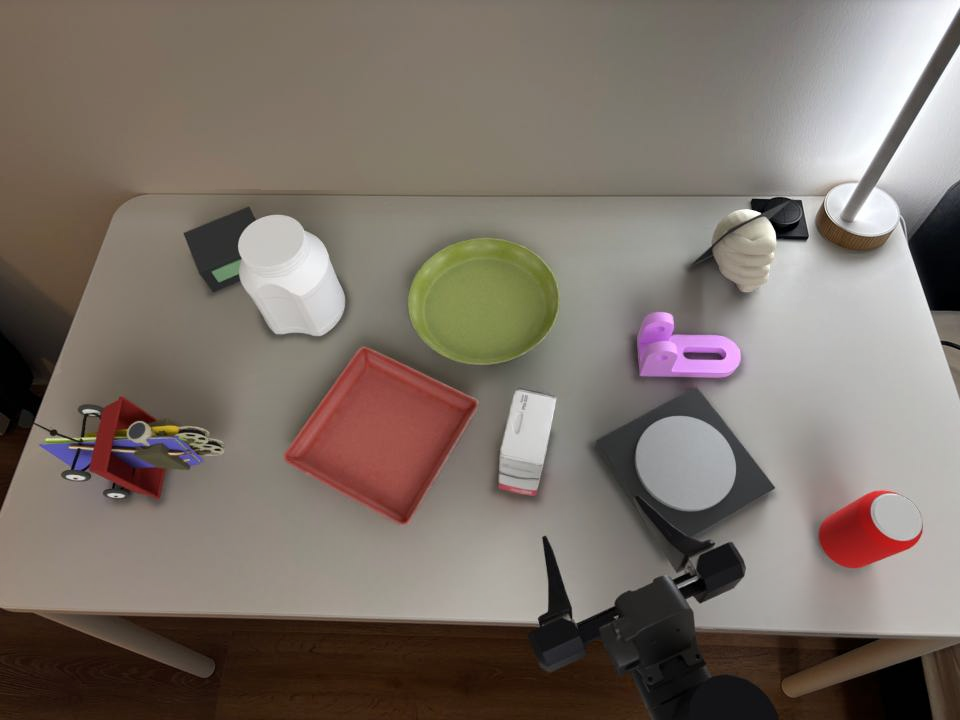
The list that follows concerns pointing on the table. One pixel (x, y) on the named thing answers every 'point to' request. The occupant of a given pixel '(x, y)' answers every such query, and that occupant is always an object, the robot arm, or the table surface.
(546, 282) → the saucer
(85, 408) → the toy cart
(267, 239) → the jar
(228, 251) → the scale display
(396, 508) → the plant saucer
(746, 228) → the decorative object
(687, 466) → the scale
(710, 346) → the bracket
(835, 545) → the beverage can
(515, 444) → the ink box
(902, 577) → the table surface
